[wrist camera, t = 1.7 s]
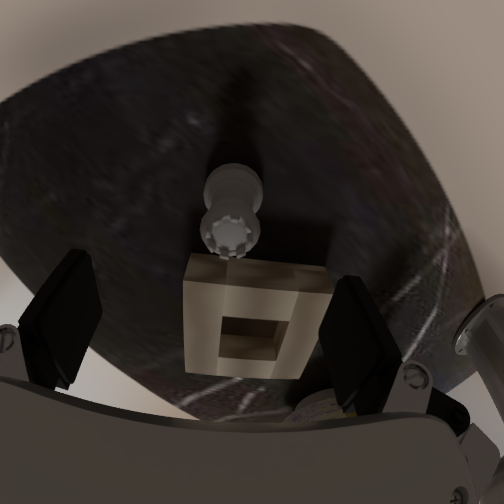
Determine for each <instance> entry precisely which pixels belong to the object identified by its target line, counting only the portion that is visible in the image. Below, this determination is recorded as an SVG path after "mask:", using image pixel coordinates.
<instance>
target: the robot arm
mask: <svg viewBox="0 0 504 504" xmlns="http://www.w3.org/2000/svg"><path fill="white" fill-rule="evenodd" d="M101 316H102V306H101V302H100V298H99V293H98V289H97V285H96V280H95V275H94V271H93V265H92V260H91V256H90V255H89V254H87V252H86V251H85V250H80V249H71V250H70V251H69V252H68V253H67V255H66V256H65V257H64V258H63V260H62V261H61V262H60V263H59V265H58V266H57V267H56V268H55V270H54V271H53V272H52V273H51V275H50V276H49V277H48V279H47V280H46V281H45V283H44V284H43V285H42V287H41V288H40V290H39V291H38V292H37V294H36V295H35V297H34V298H33V299H32V301H31V302H30V304H29V305H28V307H27V308H26V310H25V311H24V313H23V314H22V316H21V317H20V319H19V320H18V322H19V326H18V328H16V327H15V326H13V325H11V324H4V325H1V326H0V504H479V501H480V504H504V456H503V457H502V458H500V453H499V449H498V448H497V446H496V445H495V444H494V443H493V442H492V441H491V440H490V439H489V438H488V437H487V436H486V435H485V434H484V433H483V432H482V431H481V430H480V429H479V428H478V427H477V426H476V425H475V424H474V423H472V424H471V425H470V415H469V412H468V410H467V409H466V407H465V406H464V405H462V404H461V403H459V402H457V401H456V400H454V399H452V398H451V397H449V396H447V395H446V394H444V393H442V392H440V391H439V390H437V389H435V388H434V387H432V383H433V379H432V376H431V373H430V372H429V370H428V369H427V368H426V367H425V366H424V365H423V364H421V363H419V362H417V361H412V360H409V361H405V362H402V359H401V357H402V354H401V352H400V350H399V348H398V346H397V344H396V342H395V340H394V338H393V336H392V334H391V332H390V330H389V329H388V327H387V325H386V323H385V321H384V319H383V317H382V315H381V313H380V312H379V310H378V308H377V306H376V304H375V302H374V301H373V299H372V297H371V295H370V293H369V292H368V290H367V288H366V286H365V285H364V283H363V281H362V279H361V278H360V277H359V276H350V275H345V276H344V277H343V278H342V279H339V280H338V283H337V285H336V288H335V290H334V293H333V295H332V298H331V300H330V303H329V305H328V308H327V310H326V313H325V315H324V317H323V320H322V322H321V324H320V327H319V331H318V336H319V340H320V343H321V347H322V350H323V354H324V357H325V361H326V364H327V368H328V371H329V375H330V378H331V382H332V386H333V389H334V393H335V397H336V401H337V404H338V406H340V407H342V410H343V414H345V413H352V412H356V415H357V416H356V417H348V418H339V419H329V420H318V421H305V422H287V423H233V422H214V421H201V420H190V419H181V418H173V417H165V416H158V415H153V414H146V413H141V412H135V411H130V410H125V409H120V408H116V407H111V406H107V405H103V404H99V403H95V402H92V401H88V400H84V399H81V398H77V397H74V396H70V395H67V394H64V393H60V392H57V391H54V390H55V387H59V388H62V389H65V390H68V389H69V386H70V384H73V383H74V381H75V379H76V376H77V373H78V371H79V368H80V366H81V363H82V360H83V358H84V356H85V353H86V351H87V348H88V346H89V343H90V341H91V339H92V336H93V334H94V332H95V330H96V327H97V325H98V323H99V321H100V319H101ZM453 348H454V350H455V351H456V353H457V354H459V355H465V354H468V355H469V357H470V359H471V360H472V362H473V364H474V366H475V367H476V369H477V371H478V373H479V374H480V376H481V378H482V380H483V382H484V384H485V386H486V388H487V389H488V391H489V393H490V395H491V397H492V399H493V401H494V403H495V405H496V408H497V410H498V412H499V414H500V416H501V418H502V420H503V422H504V294H497V295H494V296H492V297H490V298H489V299H487V300H486V301H484V302H483V303H482V304H481V305H479V306H478V307H477V308H476V309H475V310H474V311H473V312H472V313H471V314H470V316H469V317H468V318H467V319H466V320H465V322H464V323H463V324H462V326H461V327H460V329H459V330H458V332H457V334H456V336H455V339H454V342H453Z"/></svg>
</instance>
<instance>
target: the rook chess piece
mask: <svg viewBox="0 0 504 504" xmlns="http://www.w3.org/2000/svg"><path fill="white" fill-rule="evenodd" d="M203 195H204V201H205V205H206V207H207V208H208V211H207V212H206V214H205V215H204V216H203V218H202V220H201V225H200V233H201V237H202V240H203V241H204V243H205V244H206V245H207V248H208V249H209V250H210V252H211V253H213V252H215V253H217V254H220V257H219V258H221V259H226V260H228V259H229V256H237V259H239V258H241V257H243V256H245V255H246V252H247V251H249V250H251V249H252V247H253V246H254V245H255V244H256V243H257V241H258V238H259V235H260V224H259V220H258V219H257V217H256V215H255V213H256V212H257V211H258V209H259V208H260V206H261V202H262V199H263V187H262V182H261V180H260V178H259V177H258V175H257V173H256V172H255V171H253V170H252V169H250V168H249V167H248V166H246V165H242V164H238V163H231V164H224V165H222V166H220V167H218V168H217V169H215V170H213V171H212V173H211V174H210V175H209V177H208V178H207V179H206V183H205V187H204V193H203Z"/></svg>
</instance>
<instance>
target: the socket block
mask: <svg viewBox="0 0 504 504" xmlns="http://www.w3.org/2000/svg"><path fill="white" fill-rule="evenodd" d="M219 257H220V256H217V255H208V254H199V253H191V255H190V258H189V261H188V265H187V268H186V272H185V275H184V279H183V319H184V349H185V369H186V372H190V373H199V374H208V375H219V376H231V377H246V378H268V379H299V378H300V376H301V374H302V372H303V370H304V368H305V366H306V364H307V362H308V359H309V357H310V355H311V353H312V351H313V349H314V347H315V344H316V342H317V340H318V338H319V336H318V331H319V327H320V324H321V322H322V320H323V317H324V315H325V313H326V310H327V308H328V305H329V303H330V300H331V298H332V295H333V293H334V290H335V289H334V287H333V284H332V282H331V279H330V277H329V275H328V272H327V270H326V268H325V267H322V266H312V265H303V264H293V263H283V262H274V261H264V260H255V259H245V258H239V259H237V258H236V257H229V259H228V260H226V259H221V258H219Z"/></svg>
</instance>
